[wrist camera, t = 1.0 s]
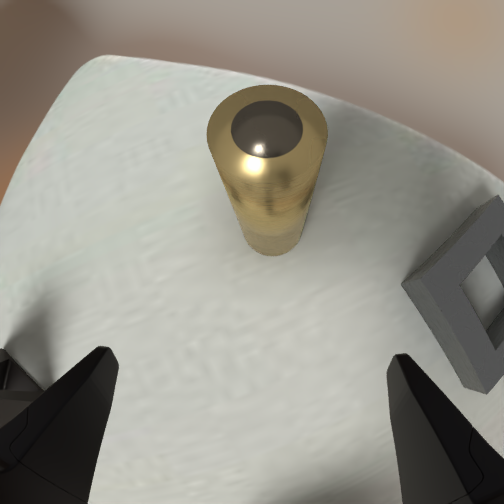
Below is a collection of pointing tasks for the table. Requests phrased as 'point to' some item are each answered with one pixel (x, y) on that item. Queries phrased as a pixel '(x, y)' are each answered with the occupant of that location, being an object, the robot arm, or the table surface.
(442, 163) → the table surface
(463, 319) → the jig block
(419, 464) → the robot arm
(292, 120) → the brass sleeve
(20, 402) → the phone stand
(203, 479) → the table surface
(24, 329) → the table surface
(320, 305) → the table surface
